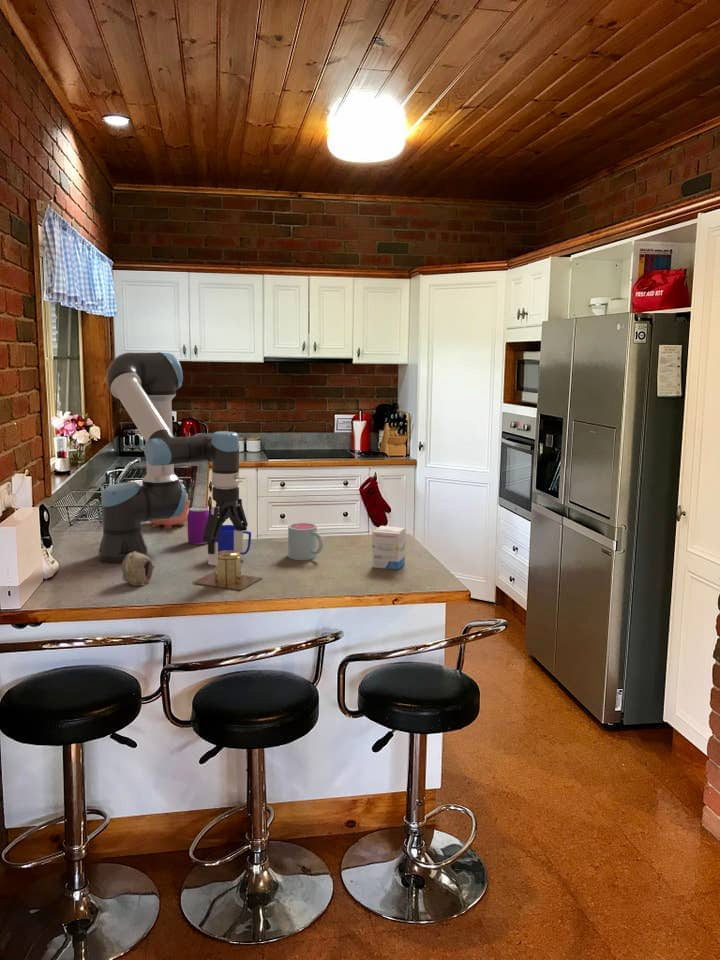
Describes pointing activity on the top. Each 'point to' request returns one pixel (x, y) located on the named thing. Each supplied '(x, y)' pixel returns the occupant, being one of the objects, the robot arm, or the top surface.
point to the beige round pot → (137, 569)
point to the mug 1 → (229, 538)
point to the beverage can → (197, 524)
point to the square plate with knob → (239, 586)
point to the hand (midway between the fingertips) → (226, 558)
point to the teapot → (174, 518)
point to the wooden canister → (228, 567)
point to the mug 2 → (303, 541)
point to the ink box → (388, 547)
